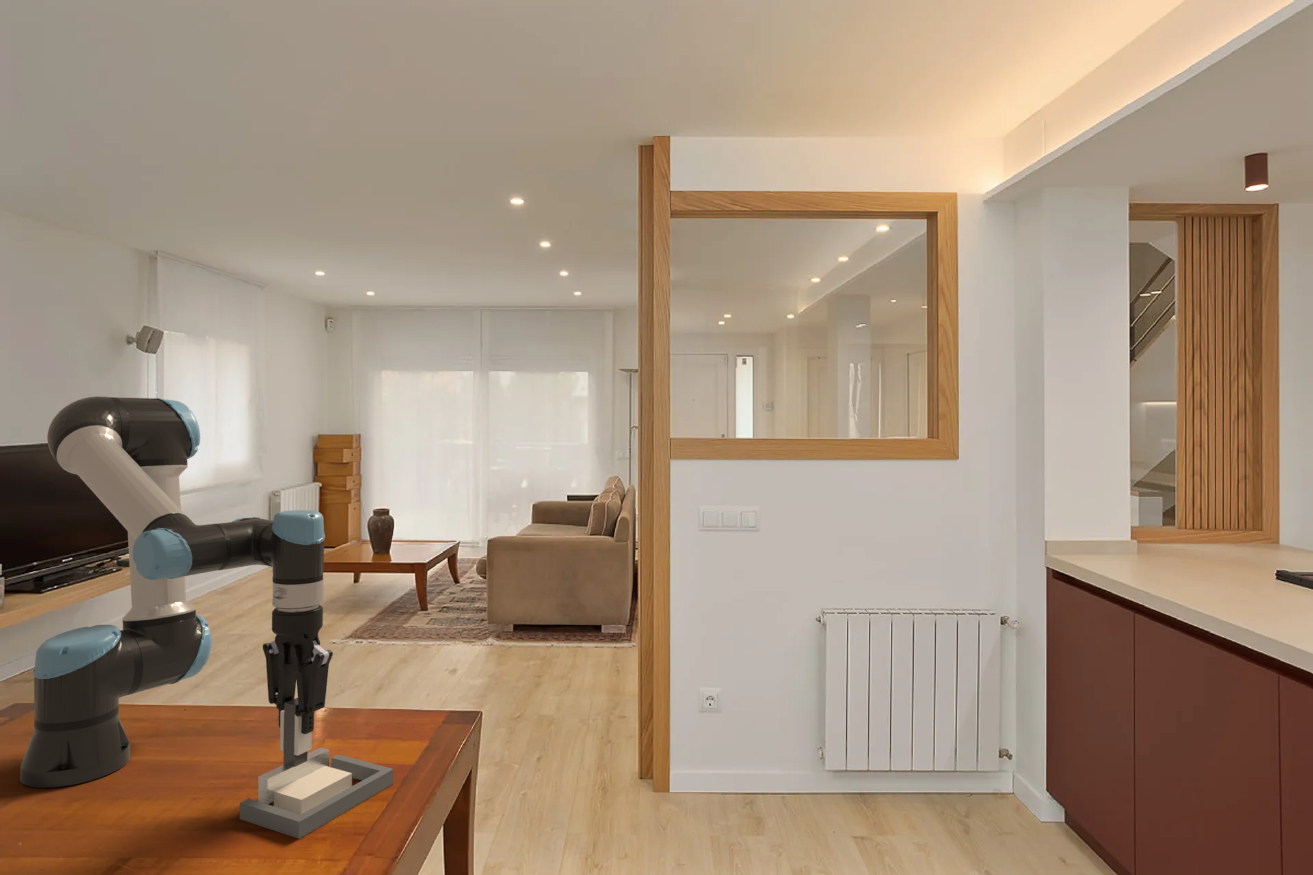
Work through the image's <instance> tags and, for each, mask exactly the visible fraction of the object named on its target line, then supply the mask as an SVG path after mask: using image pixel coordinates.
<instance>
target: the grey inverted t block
mask: <svg viewBox="0 0 1313 875" xmlns="http://www.w3.org/2000/svg"><path fill="white" fill-rule="evenodd" d="M307 705H308V704H307ZM298 711H299V706H298V697H296V698H294V699H293V700H290V701H288V702H285V703H284V752H283V759H282V760H283V763H282V765H280V766H278V767H276V768H275V767H274V768H273V769H271V770H269V771H267V772H265V773H263V774H261V775H258V781H257V782H258V788H257V789H258V790H257V794H258V796H257V799H258V800H257V801H258V802H262V803H265V804H268V805H270V804H271V803H274V791H276V790H278V789H280V788H282V787H284V786H286V785H288V784H290V783H292V782H294V781H296V780H298V779H300V778H302V777H304V776H306V775H308V774H310V773H312V772H314V771H316V770H318V769H320V768H322V767H324V766H328V767H330V749H328V748H325V747H318V748H317V749H315V750H313V751H310V752H308V751H307V752H304V753H302V754H300V755H298V756H297V755H294V739H295V713H296V712H298Z"/></svg>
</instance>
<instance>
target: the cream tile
mask: <svg viewBox="0 0 1313 875" xmlns="http://www.w3.org/2000/svg"><path fill="white" fill-rule="evenodd" d="M352 784H353V778H352V773H349V772H346V771H342V770H339V769H335V768H331V767H330V766H329V767H328V766H324V767H322V768H320V769H318V770H316V771H314V772H312V773H310V774H308V775H306V776H304V777H302V778H300V779H298V780H296V781H294V782H292V783H290V784H288V785H286V786H284V787H282V788H280V789H278V790H276V791H274V801H273V806H274V807H277V808H281V809H284V810H287V811H290V812H293V813H296V814H300V815H301V814H303V813H305V812H306V811H308V810H310V809H312V808H314V807H315V806H317V805H319V804H321V803H323V802H325V801H326V800H328V799H330V798H332V797H334V796H335V795H337V794H339V793H341V792H343V791H345V790H346V789H348V788H350V787H352V786H353V785H352Z"/></svg>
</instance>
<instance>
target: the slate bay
mask: <svg viewBox="0 0 1313 875" xmlns="http://www.w3.org/2000/svg"><path fill="white" fill-rule="evenodd" d="M330 762H331V764H330V765H331V768H335V769H339V770H342V771H346V772H349V773H352V779H355V780H358V781H359V782H356V783H355V784H354V785H352V787H350V788H348V789H346V790H345V791H343V792H341V793H339V794H337V795H335V796H334V797H332V798H330V799H328V800H326V801H325V802H323V803H321V804H319V805H317V806H315V807H314V808H312V809H310V810H308V811H306V812H305V813H303V814H301V815H300V814H296V813H293V812H290V811H287V810H284V809H281V808H277V807H274V805H270V804H265V803H262V802H258V800H254V799H251V798H246V799H245V800H242V801H241V802H239V820H241V821H245V822H247V823H250V824H253V825H257V826H259V827H263V828H265V829H268V830H271V831H275V832H278V833H281V834H283V835H287V836H289V837H293V838H295V839H297V840H298V839H301V838H304V837H305V836H306V835H308V834H310V833H311V832H314V831H316V830H317V829H318V828H320V827H322V826H323V825H325V824H327V823H329V822H330V821H332V820H334V819H336V818H337V817H339V816H341V815H343V814H344V813H346V812H347V811H349V810H351V809H353V808H354V807H356V806H357V805H360V804H361V803H364V801H367V800H368V799H371V797H373V796H375V795H377V794H378V793H381V792H382V791H383V790H385V789H387V788H388V787H390V786H392V785H393V784H394V770H395V769H394V768H391V767H388V766H384V765H380V764H376V763H372V762H370V761H369V762H368V761H365V760H361V759H357V758H354V757H349V756H345V755H342V754H336V755H335V756H332V757H331V760H330Z"/></svg>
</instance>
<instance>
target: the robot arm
mask: <svg viewBox="0 0 1313 875" xmlns="http://www.w3.org/2000/svg"><path fill="white" fill-rule="evenodd" d="M46 438H47V439H46V440H47V446H48V449H49V452H50V454H51V456H52V457H53V459H54V460H55V462H56V463H57V464H58V465H59V466H60V468H62V469H63V470H64V471H66V472H67V473H70V474H73V475H77V476H78V477H79V478H80V480H82V482H84V484H86V486H87V487H88V488H89V489H90V490H91V491H92V493H93V494H94V495H95V496H96V497H97V499H99V501H100V502H101V503H102V504H103V506H105V507H106V508H107V510H109V512H110V513H111V514H112V515H113V516H114V518H115V519H116V520H118V522H119V524H121V525H122V526H123V528H124V529H125V530H126V531H127V541H128V559H129V560H128V561H129V563H128V564H129V578H130V579H129V580H130V598H131V599H130V600H131V608H130V610H129V611H128V612H127V613H126V614H124V616H122V629H121V630H120V629H119V627H118V626H116V625H113V624H96V625H92V626H82V627H78V628H74V629H70V630H68V631H64V632H62V633H59V634H56V635H54V636H52V637H50V638H48V639H46V640H45V641H44V642H42V643H41V644H40V645H39V647H37V650H36V651H35V652H36V653H35V659H34V660H35V662H34V668H33V672H32V675H33V677H34V678H33V680H34V681H33V684H34V686H33V687H34V695H33V696H34V698H33V699H34V700H33V701H34V702H33V703H34V704H33V705H34V706H33V708H34V710H33V713H34V714H33V715H34V717H33V718H34V720H33V733H32V735H31V737H30V740H29V743H28V745H27V748H26V750H25V753H24V755H23V758H22V761H21V763H20V766H19V767H20V768H19V781H20V783H21V784H23V785H25V786H27V787H31V788H37V789H38V788H39V789H41V788H42V789H46V788H51V789H52V788H61V787H66V786H67V787H68V786H74V785H77V784H83V783H86V782H90V781H94V780H96V779H99V778H102V777H104V776H108V775H110V774H113V773H114V772H116V771H119V770H120V769H121V768H123V767H124V766H125V765H126V764H127V763H129V761H130V759H131V744H130V740H129V739H128V736H127V734H126V731H125V729H124V726H123V724H122V722H121V719H120V714H119V709H120V708H119V707H120V706H119V704H120V698H122V697H126V696H130V695H133V694H136V693H139V692H140V693H141V692H144V691H147V690H150V689H155V688H160V687H163V686H167V685H174V684H177V683H179V682H181V681H183V680H186V679H189V678H192V677H194V676H196V675H197V674H199V673H200V672H201V671H202V670H203V668H204V667H205V666H206V664H207V663H208V660H209V658H210V656H211V650H212V645H213V642H212V641H213V638H212V630H211V627H208V626H209V623H208V621H207V619H205V618H204V617H203V616H201V615H198V614H197V611H196V610H197V609H196V607H195V606H194V605H193V604H191V603H190V602H188V600H187V598H186V596H187V595H186V578H185V577H188V576H189V577H190V576H194V575H199V574H206V573H211V572H217V571H223V570H224V571H225V570H231V569H237V568H238V569H239V568H243V567H249V566H258V565H259V566H265V567H266V566H267V567H272V601H271V602H272V606H273V607H274V609H273V610H272V611H271V631H272V633H273V634H275V637H274V640H273V641H269V642H266V643H263V644H262V650H263V653H264V656H265V666H266V668H265V669H266V681H267V698H268V703H269V704H270V705H273V704H274V705H275V706H276V709H277V711H278V728H279V729H280V730H279V731H280V732H279V734H280V735H279V751H280V752H283V753H284V703H285V702H288V701H290V700H293V699H296V698H295V695H296V693H297V698H298V706H299V711H298V712H296V713H295V739H294V755H297V756H298V755H300V754H302V753H304V752H307V753H308V752H309V751H311V750H312V747H313V746H312V745H313V744H312V743H313V742H312V739H313V738H312V737H313V736H312V733H313V732H314V729H315V725H314V724H315V712H317V711H319V710H322V709H323V708H325V705H326V696H327V687H328V686H327V685H328V678H329V667H330V662H331V660H332V657H333V654H334V653H333V651H332V650H331V649H327V650H325V649H324V648H323V647H322V646H321V641H320V638H319V632H320V631H321V629H322V628H323V627H324V626H323V625H324V620H323V619H324V607H323V606H322V603H324V565H325V564H324V563H325V562H324V560H325V556H324V555H325V554H324V553H325V538H326V535H325V525H324V524H325V523H324V516H323V514H322V513H321V512H319V511H317V510H301V509H300V510H295V509H294V510H283V511H279V512H276V513H275V514H274V516H273V520H272V519H264V518H261V517H258V516H257V517H256V516H253V517H239V518H236V519H234V520H232V521H229V522H219V523H211V524H210V523H209V524H200V525H199V524H195V523H194V521H192V519H190V518H189V517H188V515H186V514H185V513H184V511H182V507H181V506H182V505H181V490H180V476H181V475H182V474H183V473H184V471H185V470H186V469H188V459H190V458H193V457H194V456H195V455H196V454H197V452H198V450H199V446H200V444H201V430H200V426H199V423H198V420H197V418H196V416H195V414H194V412H193V411H192V410H191V409H190V408H189V406H187V405H186V404H184V402H181V401H179V400H173V399H165V398H160V397H157V398H156V397H153V398H152V397H151V398H149V397H148V398H147V397H116V396H115V397H114V396H113V397H111V396H88V397H84V398H81V399H77V400H75V401H73V402H71V403H68V405H65V407H63V408H62V409H60V410H59V411H58V413H57V414H56V415H55V416H54V418H53V419H52V420H51V423H50V424H49V427H48V429H47V436H46ZM296 690H297V692H296ZM307 704H308V705H307Z"/></svg>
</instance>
